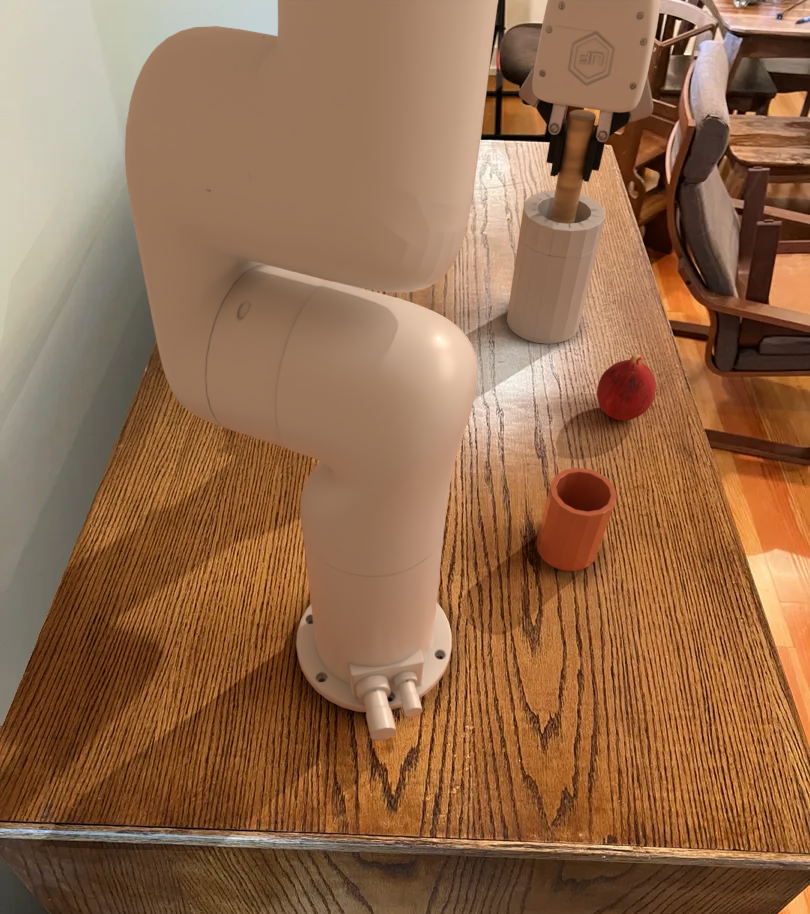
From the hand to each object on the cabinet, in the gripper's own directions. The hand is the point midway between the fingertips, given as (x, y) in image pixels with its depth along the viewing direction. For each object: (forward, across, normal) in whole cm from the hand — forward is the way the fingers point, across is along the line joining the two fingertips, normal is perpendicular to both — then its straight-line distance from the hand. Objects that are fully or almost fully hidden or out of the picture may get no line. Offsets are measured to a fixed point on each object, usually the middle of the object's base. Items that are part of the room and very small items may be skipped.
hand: (571, 171), depth 79 cm
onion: (+18, +11, -15) cm, 26 cm away
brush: (+13, 0, 0) cm, 13 cm away
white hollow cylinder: (+18, 0, 0) cm, 18 cm away
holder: (+18, +8, -35) cm, 40 cm away
